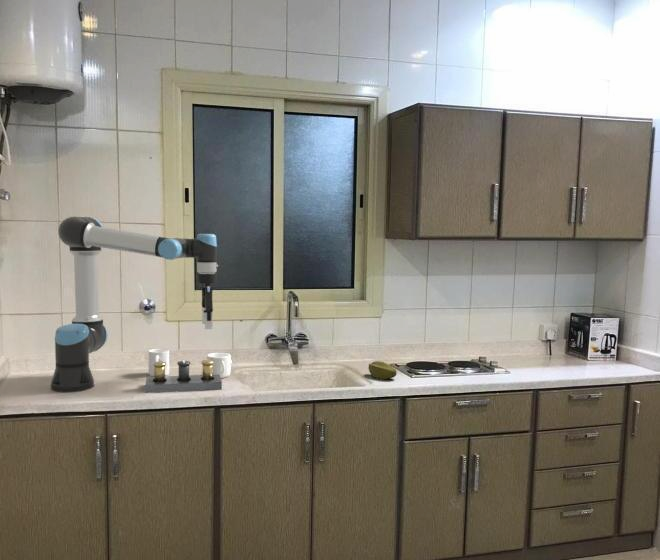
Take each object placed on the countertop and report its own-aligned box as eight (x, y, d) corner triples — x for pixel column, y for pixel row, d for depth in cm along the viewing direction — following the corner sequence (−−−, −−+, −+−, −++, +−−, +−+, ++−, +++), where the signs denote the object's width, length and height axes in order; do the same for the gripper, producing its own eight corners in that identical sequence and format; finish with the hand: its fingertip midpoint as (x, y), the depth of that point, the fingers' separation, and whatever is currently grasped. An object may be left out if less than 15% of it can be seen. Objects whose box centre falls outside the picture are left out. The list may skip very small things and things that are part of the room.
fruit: (369, 380, 248) (370, 365, 247) (367, 373, 260) (368, 358, 259) (397, 381, 248) (397, 365, 247) (393, 374, 260) (394, 359, 259)
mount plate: (145, 392, 222) (145, 384, 221) (146, 384, 233) (146, 377, 233) (221, 389, 229) (221, 381, 229) (219, 381, 240) (219, 374, 240)
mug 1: (165, 379, 242) (165, 354, 241) (144, 379, 241) (144, 354, 241) (170, 372, 254) (170, 348, 253) (150, 372, 253) (150, 348, 252)
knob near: (152, 382, 226) (152, 364, 225) (153, 379, 230) (153, 361, 230) (166, 381, 227) (166, 364, 226) (166, 378, 231) (166, 361, 231)
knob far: (201, 380, 230) (201, 362, 230) (201, 377, 235) (201, 360, 234) (214, 379, 231) (214, 362, 231) (213, 376, 236) (213, 359, 235)
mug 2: (236, 379, 245) (237, 357, 245) (212, 381, 241) (212, 359, 240) (227, 372, 256) (228, 351, 255) (204, 374, 251) (204, 353, 251)
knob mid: (177, 381, 228) (177, 362, 227) (177, 378, 233) (177, 360, 232) (190, 380, 229) (190, 362, 229) (190, 377, 234) (190, 359, 233)
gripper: (220, 275, 225) (220, 331, 226) (213, 270, 248) (213, 321, 250) (199, 275, 223) (199, 331, 224) (195, 270, 246) (195, 321, 248)
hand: (207, 326), depth 237 cm, fingers open, 13 cm apart
